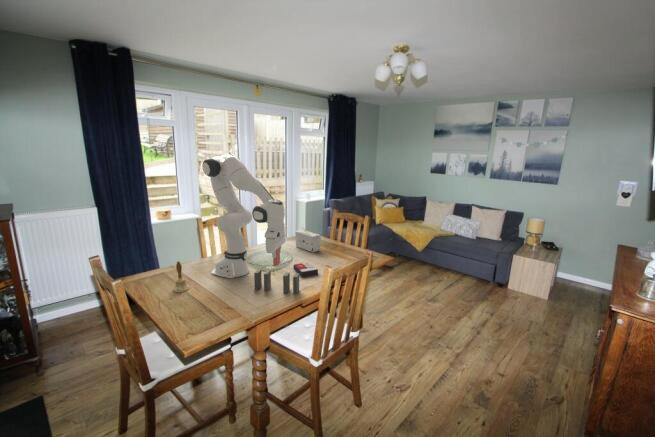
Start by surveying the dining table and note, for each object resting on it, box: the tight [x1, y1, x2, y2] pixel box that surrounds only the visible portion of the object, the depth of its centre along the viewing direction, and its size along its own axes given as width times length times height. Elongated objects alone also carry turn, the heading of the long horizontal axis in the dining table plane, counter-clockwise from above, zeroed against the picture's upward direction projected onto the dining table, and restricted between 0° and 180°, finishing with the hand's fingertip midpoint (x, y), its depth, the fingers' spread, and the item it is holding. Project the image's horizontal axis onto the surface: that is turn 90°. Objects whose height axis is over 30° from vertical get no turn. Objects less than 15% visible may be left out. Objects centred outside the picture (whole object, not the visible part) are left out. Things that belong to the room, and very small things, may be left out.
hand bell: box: [172, 260, 191, 293], centre depth 167 cm, size 8×8×16 cm
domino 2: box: [263, 269, 272, 292], centre depth 170 cm, size 2×5×10 cm, turn 169°
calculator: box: [293, 261, 319, 278], centre depth 195 cm, size 11×4×15 cm
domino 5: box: [292, 272, 300, 295], centre depth 167 cm, size 2×5×10 cm, turn 169°
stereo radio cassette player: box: [295, 227, 322, 253], centre depth 236 cm, size 21×8×20 cm, turn 48°
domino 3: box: [272, 247, 281, 267], centre depth 165 cm, size 2×5×10 cm, turn 169°
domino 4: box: [282, 271, 291, 294], centre depth 168 cm, size 2×5×10 cm, turn 169°
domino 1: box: [253, 269, 263, 291], centre depth 171 cm, size 2×5×10 cm, turn 169°
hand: (276, 255), depth 165 cm, fingers closed on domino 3, 5 cm apart
